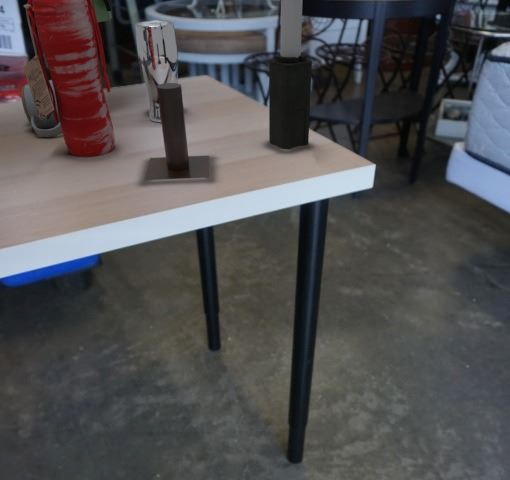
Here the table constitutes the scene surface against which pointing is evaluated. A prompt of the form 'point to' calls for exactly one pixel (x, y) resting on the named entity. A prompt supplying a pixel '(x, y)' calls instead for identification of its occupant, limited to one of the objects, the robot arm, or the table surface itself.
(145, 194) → the table surface
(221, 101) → the table surface
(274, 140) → the candle
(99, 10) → the green ring
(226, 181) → the table surface
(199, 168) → the walnut peg
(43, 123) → the ceramic mug
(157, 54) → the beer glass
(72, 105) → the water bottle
